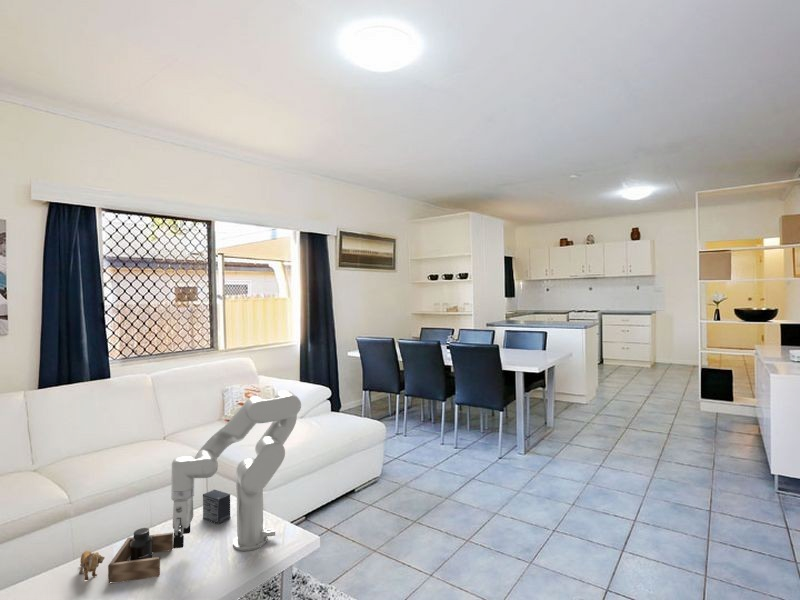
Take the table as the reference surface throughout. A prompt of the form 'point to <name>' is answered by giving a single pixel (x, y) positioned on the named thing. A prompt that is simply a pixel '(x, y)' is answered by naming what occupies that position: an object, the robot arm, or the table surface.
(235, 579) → the table surface
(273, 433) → the robot arm
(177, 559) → the table surface
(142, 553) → the supplement bottle
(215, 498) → the small box
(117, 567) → the walnut u-shaped bracket
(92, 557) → the lion figurine
